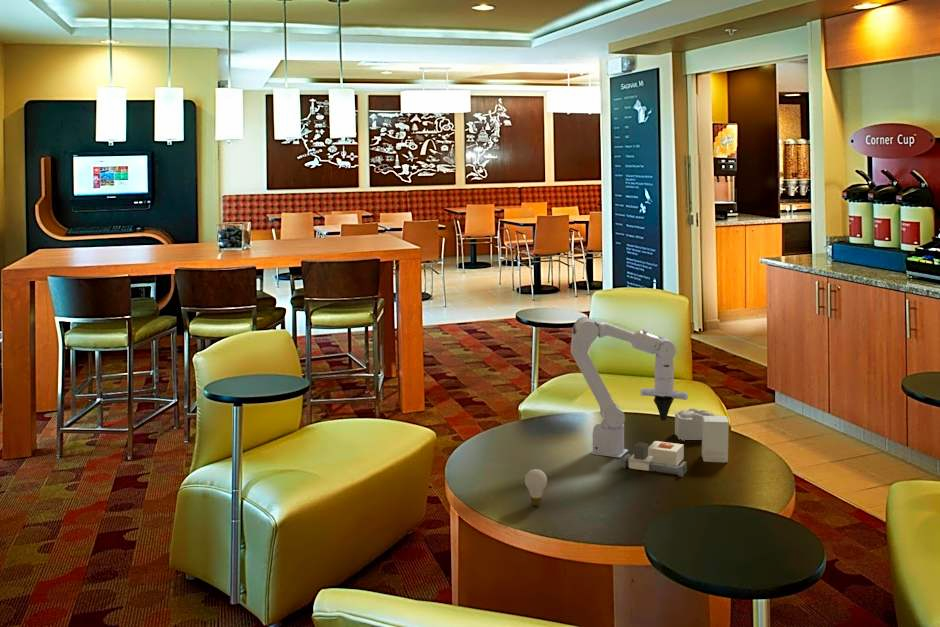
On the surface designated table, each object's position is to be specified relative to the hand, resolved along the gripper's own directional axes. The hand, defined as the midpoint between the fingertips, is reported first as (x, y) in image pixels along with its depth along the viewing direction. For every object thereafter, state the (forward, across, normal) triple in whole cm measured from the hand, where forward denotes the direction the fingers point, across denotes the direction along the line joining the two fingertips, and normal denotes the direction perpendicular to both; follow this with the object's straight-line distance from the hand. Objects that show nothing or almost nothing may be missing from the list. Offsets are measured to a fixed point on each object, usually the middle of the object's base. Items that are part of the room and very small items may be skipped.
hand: (663, 419), depth 274 cm
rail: (+10, +2, -18) cm, 21 cm away
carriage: (+10, -2, -18) cm, 21 cm away
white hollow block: (+10, +3, -8) cm, 13 cm away
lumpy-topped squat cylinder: (+11, +5, +21) cm, 24 cm away
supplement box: (+11, +16, 0) cm, 19 cm away
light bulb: (+11, -17, -59) cm, 62 cm away
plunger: (+10, +3, -8) cm, 13 cm away
